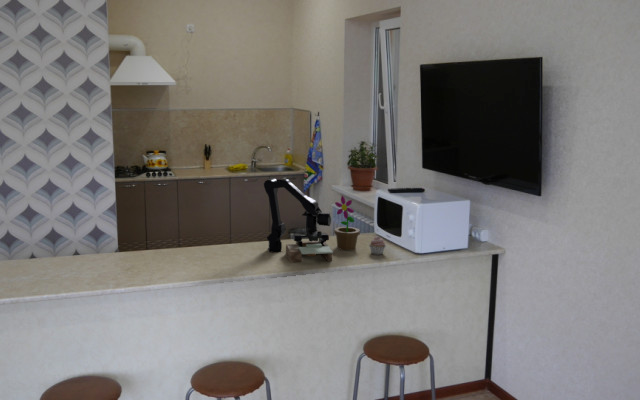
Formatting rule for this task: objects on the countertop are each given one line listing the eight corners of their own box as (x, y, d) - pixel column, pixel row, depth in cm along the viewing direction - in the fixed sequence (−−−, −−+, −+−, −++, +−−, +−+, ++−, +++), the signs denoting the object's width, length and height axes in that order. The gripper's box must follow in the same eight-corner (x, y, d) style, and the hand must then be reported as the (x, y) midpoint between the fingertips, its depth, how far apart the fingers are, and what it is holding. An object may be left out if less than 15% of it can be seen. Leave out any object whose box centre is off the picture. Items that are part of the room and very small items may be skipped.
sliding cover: (302, 254, 295) (302, 249, 295) (298, 248, 305) (298, 244, 304) (332, 253, 299) (333, 248, 298) (328, 247, 308) (328, 243, 308)
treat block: (307, 256, 312) (307, 247, 311) (305, 253, 316) (305, 244, 315) (315, 255, 313) (315, 246, 312) (313, 253, 317) (313, 244, 316)
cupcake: (381, 256, 314) (382, 239, 312) (365, 254, 319) (366, 236, 317) (388, 252, 322) (389, 235, 320) (373, 250, 327) (373, 232, 325)
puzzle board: (290, 262, 300) (290, 251, 299) (284, 252, 317) (284, 242, 316) (331, 260, 305) (332, 250, 304) (324, 250, 322) (324, 240, 321)
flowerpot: (328, 247, 328) (330, 195, 322) (342, 242, 340) (344, 191, 334) (350, 252, 320) (352, 199, 314) (363, 247, 332) (366, 195, 326)
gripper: (296, 228, 301) (295, 257, 305) (331, 227, 305) (330, 256, 309) (292, 223, 312) (292, 251, 315) (326, 222, 316) (326, 250, 319)
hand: (310, 252), depth 314 cm, fingers open, 9 cm apart
